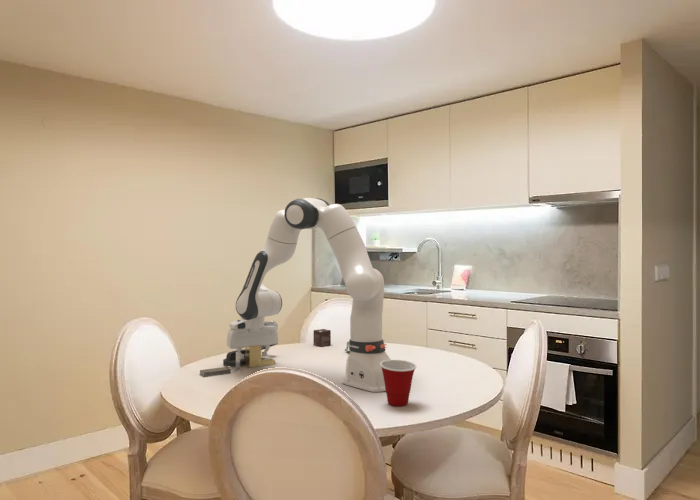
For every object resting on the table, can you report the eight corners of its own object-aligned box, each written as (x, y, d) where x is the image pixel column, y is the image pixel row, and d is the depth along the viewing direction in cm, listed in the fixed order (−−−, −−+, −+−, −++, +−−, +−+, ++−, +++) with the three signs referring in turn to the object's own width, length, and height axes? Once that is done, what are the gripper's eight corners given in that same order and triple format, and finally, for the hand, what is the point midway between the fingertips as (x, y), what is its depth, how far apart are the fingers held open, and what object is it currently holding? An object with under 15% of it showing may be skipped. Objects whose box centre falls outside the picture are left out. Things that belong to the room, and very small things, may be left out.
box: (323, 344, 253) (323, 328, 253) (331, 345, 249) (331, 330, 249) (313, 345, 250) (313, 330, 249) (320, 347, 245) (320, 331, 245)
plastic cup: (396, 411, 148) (396, 369, 148) (372, 402, 157) (372, 362, 157) (424, 405, 155) (424, 364, 155) (400, 396, 163) (399, 357, 163)
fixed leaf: (243, 371, 197) (243, 353, 197) (203, 377, 190) (203, 357, 189) (238, 369, 201) (238, 350, 201) (200, 374, 194) (199, 355, 194)
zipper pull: (280, 341, 224) (234, 351, 204) (280, 357, 224) (235, 368, 204) (264, 339, 229) (219, 348, 209) (265, 354, 229) (219, 365, 209)
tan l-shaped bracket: (270, 362, 214) (270, 342, 214) (275, 364, 209) (275, 344, 209) (245, 365, 208) (245, 345, 208) (249, 367, 204) (249, 347, 204)
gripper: (274, 319, 215) (274, 353, 215) (225, 323, 204) (225, 359, 205) (280, 321, 210) (280, 356, 210) (230, 325, 199) (231, 362, 199)
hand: (253, 357), depth 207 cm, fingers open, 8 cm apart
